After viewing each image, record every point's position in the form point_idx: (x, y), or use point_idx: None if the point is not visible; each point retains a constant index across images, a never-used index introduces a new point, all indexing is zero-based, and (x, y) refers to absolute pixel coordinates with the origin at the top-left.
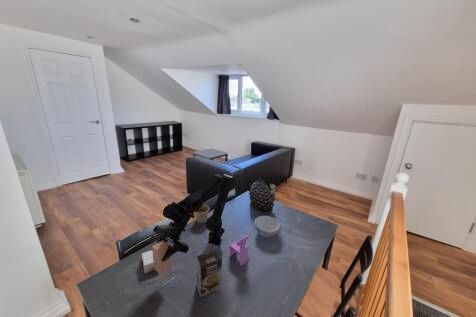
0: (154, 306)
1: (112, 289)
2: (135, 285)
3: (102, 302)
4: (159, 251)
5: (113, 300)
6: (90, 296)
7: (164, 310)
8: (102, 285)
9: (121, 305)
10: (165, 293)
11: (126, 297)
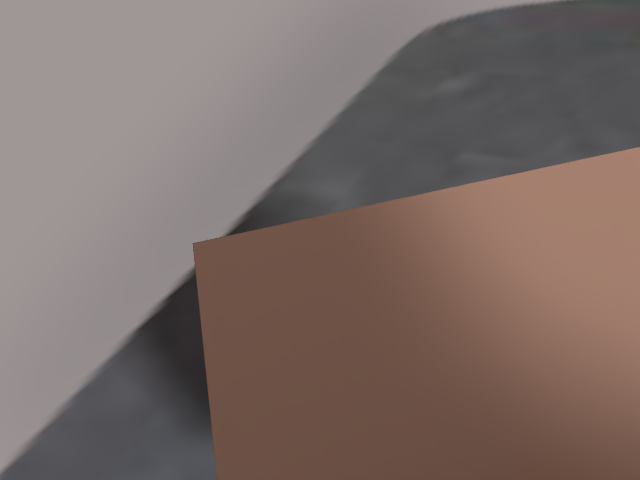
0: (191, 335)
1: (551, 118)
2: None
3: (467, 63)
4: (241, 290)
5: (443, 114)
6: (559, 16)
7: (96, 393)
8: (627, 72)
9: (368, 147)
10: None
11: (416, 183)
